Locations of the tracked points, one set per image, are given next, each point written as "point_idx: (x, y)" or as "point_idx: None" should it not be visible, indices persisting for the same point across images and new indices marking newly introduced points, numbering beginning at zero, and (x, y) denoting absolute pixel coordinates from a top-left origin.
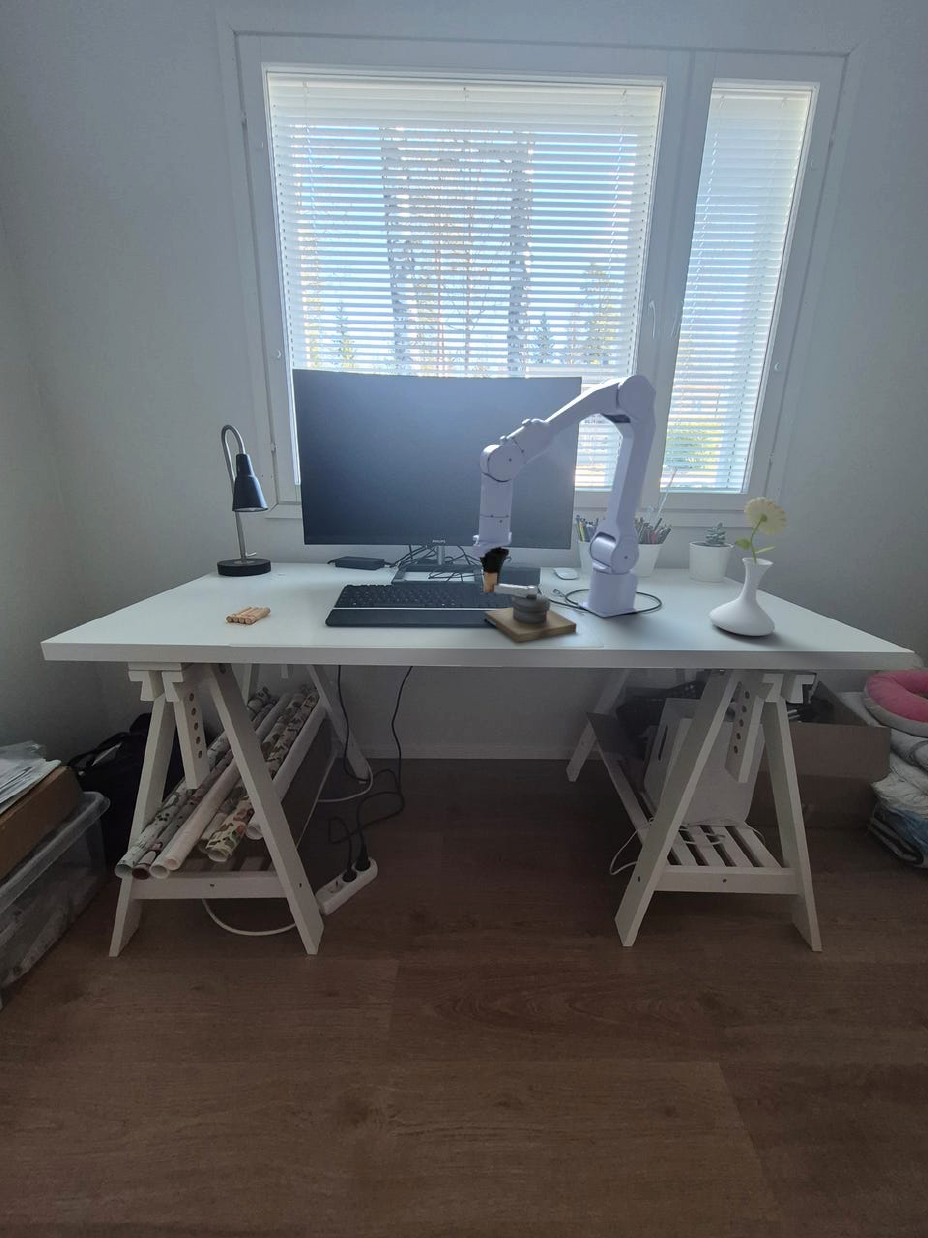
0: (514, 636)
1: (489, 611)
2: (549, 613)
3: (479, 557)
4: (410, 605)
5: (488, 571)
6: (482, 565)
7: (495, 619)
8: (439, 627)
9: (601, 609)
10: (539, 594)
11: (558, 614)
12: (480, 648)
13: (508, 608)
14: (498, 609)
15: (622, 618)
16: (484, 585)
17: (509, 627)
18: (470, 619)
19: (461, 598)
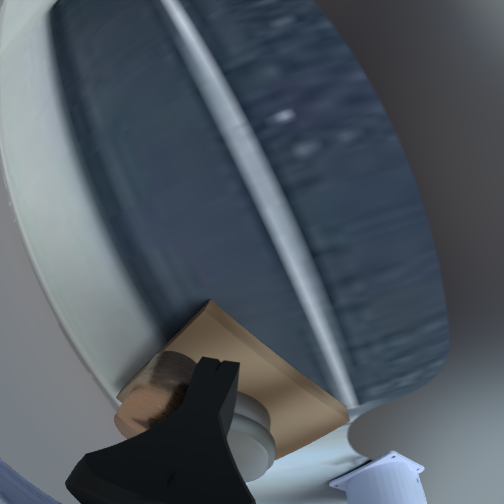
0: (125, 386)
1: (214, 325)
2: (277, 446)
3: (113, 446)
4: (221, 28)
5: (151, 426)
6: (165, 418)
7: (163, 350)
8: (94, 196)
9: (347, 485)
10: (257, 473)
11: (279, 456)
12: (63, 323)
13: (272, 370)
14: (248, 346)
15: (337, 492)
16: (144, 371)
17: (135, 383)
18: (185, 260)
19: (380, 162)
